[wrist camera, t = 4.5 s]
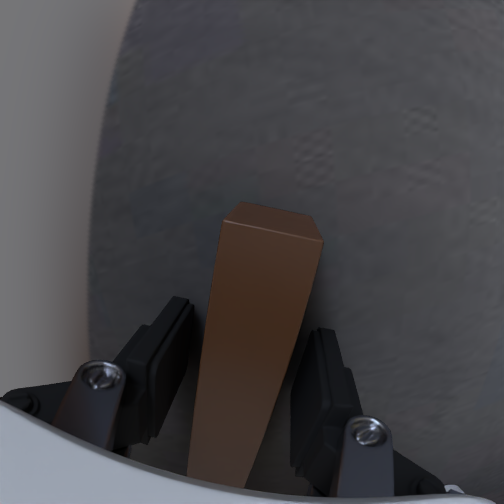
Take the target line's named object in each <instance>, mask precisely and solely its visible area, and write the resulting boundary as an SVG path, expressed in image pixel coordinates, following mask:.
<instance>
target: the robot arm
mask: <svg viewBox="0 0 504 504" xmlns="http://www.w3.org/2000/svg"><path fill="white" fill-rule="evenodd" d="M193 312H194V305H192V304H189V300H188V299H184V298H180V297H176V296H173V297H172V298H171V300H170V301H169V302H168V304H167V305H166V306H165V308H164V309H163V310H162V312H161V313H160V314H159V316H158V317H157V318H156V320H155V321H154V322H153V324H152V325H151V326H148V325H142V326H141V327H140V328H139V329H138V330H137V332H136V333H135V334H134V335H133V337H132V338H131V339H130V340H129V342H128V343H127V344H126V345H125V347H124V348H123V349H122V350H121V352H120V353H119V354H118V356H117V357H116V358H115V359H114V361H113V362H110V361H107V360H92V361H89V362H86V363H84V364H83V365H81V366H80V368H79V369H78V370H77V372H76V374H75V376H74V378H73V379H72V381H69V382H62V383H56V384H49V385H42V386H35V387H26V388H18V389H14V390H11V391H9V392H7V393H6V394H5V395H4V396H3V397H0V504H496V503H494V502H493V501H490V500H488V499H485V498H482V497H476V496H471V495H466V494H463V493H460V492H458V491H455V490H452V489H450V490H449V491H448V492H447V491H446V489H445V486H444V485H443V483H442V482H441V480H439V479H438V478H437V477H436V476H434V475H432V474H431V473H429V472H427V471H426V470H424V469H423V468H421V467H420V466H418V465H416V464H415V463H413V462H412V461H410V460H409V459H407V458H406V457H404V456H402V455H401V454H399V453H398V452H396V451H395V450H393V442H392V434H391V431H390V429H389V428H388V426H387V425H386V424H385V423H384V422H382V421H381V420H379V419H377V418H375V417H372V416H367V415H363V412H362V408H361V405H360V401H359V397H358V393H357V389H356V386H355V382H354V378H353V374H352V371H351V369H350V368H346V367H344V365H343V361H342V357H341V353H340V349H339V345H338V341H337V338H336V334H335V331H334V330H331V329H326V328H320V327H319V328H318V329H317V331H314V330H312V332H311V334H310V337H309V340H308V343H307V346H306V349H305V352H304V355H303V358H302V361H301V364H300V367H299V370H298V372H297V375H296V378H295V381H294V384H293V387H292V390H291V442H290V465H291V467H296V476H297V477H304V478H306V479H307V480H308V481H309V482H310V484H309V487H308V491H307V495H306V496H298V495H287V494H278V493H270V492H262V491H255V490H249V489H243V488H237V487H232V486H226V485H221V484H216V483H212V482H207V481H203V480H199V479H195V478H191V477H187V476H183V475H179V474H176V473H172V472H169V471H165V470H162V469H159V468H155V467H152V466H149V465H146V464H143V463H140V462H137V461H134V460H131V459H129V458H130V453H131V445H134V444H137V443H143V444H146V445H148V443H149V440H150V438H151V437H154V438H157V436H158V434H159V432H160V429H161V427H162V425H163V423H164V420H165V418H166V416H167V413H168V411H169V409H170V407H171V404H172V402H173V400H174V397H175V395H176V393H177V391H178V388H179V386H180V384H181V382H182V379H183V377H184V375H185V372H186V369H187V363H188V354H189V345H190V336H191V328H192V320H193Z"/></svg>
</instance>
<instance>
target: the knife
mask: <svg viewBox="0 0 504 504" xmlns="http://www.w3.org/2000/svg"><path fill="white" fill-rule="evenodd" d="M323 245H324V241H323V239H322V237H321V235H320V233H319V231H318V229H317V227H316V225H315V223H314V221H313V219H312V217H311V216H307V215H303V214H298V213H294V212H289V211H284V210H280V209H275V208H270V207H266V206H261V205H256V204H251V203H246V202H240V203H239V204H238V205H237V206H236V207H235V208H234V209H233V210H232V211H231V212H230V213H229V214H228V215H227V216H226V217H225V218H224V219H223V221H222V225H221V231H220V237H219V242H218V248H217V254H216V260H215V267H214V273H213V279H212V285H211V292H210V298H209V305H208V311H207V318H206V325H205V331H204V338H203V345H202V352H201V360H200V367H199V374H198V382H197V390H196V397H195V405H194V413H193V422H192V430H191V439H190V448H189V457H188V466H187V477H191V478H195V479H199V480H203V481H207V482H212V483H216V484H221V485H226V486H232V487H237V488H243V489H244V487H245V484H246V482H247V479H248V477H249V474H250V472H251V469H252V467H253V464H254V461H255V459H256V456H257V454H258V451H259V448H260V446H261V443H262V440H263V438H264V435H265V432H266V429H267V427H268V424H269V421H270V418H271V416H272V413H273V410H274V407H275V404H276V401H277V398H278V395H279V392H280V390H281V387H282V384H283V381H284V378H285V375H286V372H287V368H288V365H289V362H290V359H291V356H292V353H293V350H294V347H295V343H296V340H297V337H298V334H299V330H300V327H301V324H302V320H303V317H304V314H305V310H306V307H307V303H308V300H309V296H310V293H311V289H312V286H313V282H314V278H315V275H316V271H317V267H318V264H319V260H320V256H321V252H322V249H323Z"/></svg>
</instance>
